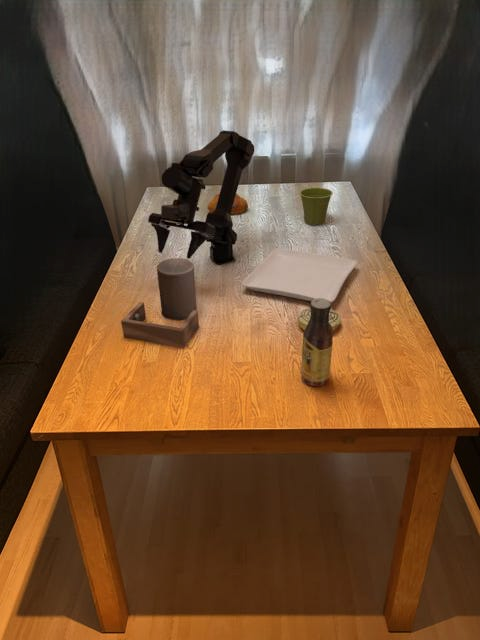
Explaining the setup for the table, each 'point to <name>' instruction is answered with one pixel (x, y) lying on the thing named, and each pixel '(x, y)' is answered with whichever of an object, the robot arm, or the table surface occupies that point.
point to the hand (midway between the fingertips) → (173, 255)
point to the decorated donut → (306, 314)
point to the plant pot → (315, 204)
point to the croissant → (238, 205)
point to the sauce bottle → (317, 344)
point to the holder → (158, 329)
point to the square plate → (300, 275)
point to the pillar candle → (176, 288)
